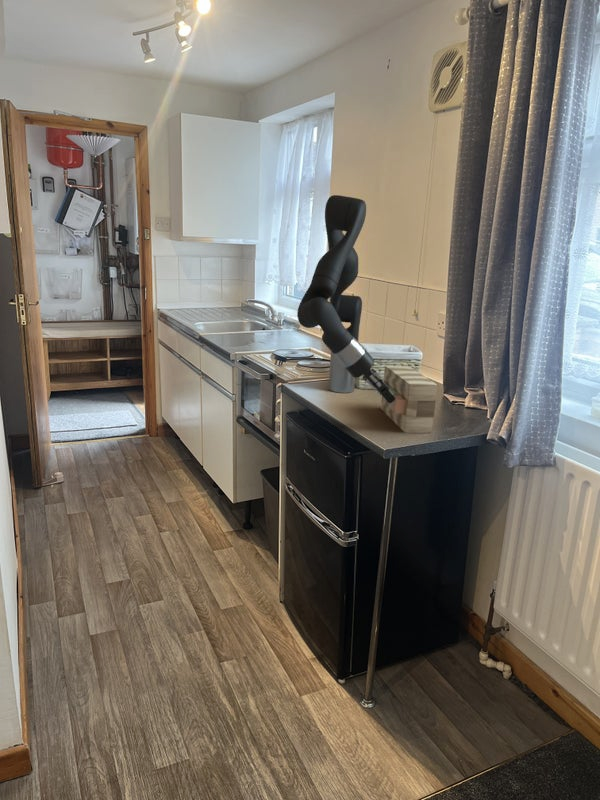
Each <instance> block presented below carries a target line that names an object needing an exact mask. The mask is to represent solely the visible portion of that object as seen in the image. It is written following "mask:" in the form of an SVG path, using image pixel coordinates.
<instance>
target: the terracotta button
mask: <svg viewBox="0 0 600 800" xmlns="http://www.w3.org/2000/svg"><path fill="white" fill-rule="evenodd" d="M394 397H395V400H394V401H393V402H392V403H391V410H392V411H393V412H394V413H404V414H405V407H406V398H405V397H403V396H394Z"/></svg>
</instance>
